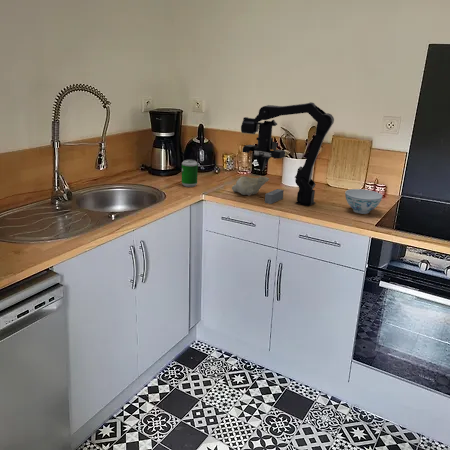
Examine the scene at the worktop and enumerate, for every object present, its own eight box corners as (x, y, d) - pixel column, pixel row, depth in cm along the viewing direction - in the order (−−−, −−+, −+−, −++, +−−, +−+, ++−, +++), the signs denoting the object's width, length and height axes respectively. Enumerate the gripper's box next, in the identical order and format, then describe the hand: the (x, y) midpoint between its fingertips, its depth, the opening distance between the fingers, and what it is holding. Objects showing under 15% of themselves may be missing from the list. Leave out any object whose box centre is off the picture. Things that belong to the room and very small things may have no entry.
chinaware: (335, 207, 198) (338, 190, 196) (364, 204, 204) (366, 188, 201) (357, 218, 185) (360, 200, 183) (387, 215, 191) (390, 197, 188)
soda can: (200, 185, 224) (200, 160, 219) (191, 188, 217) (191, 163, 213) (187, 182, 227) (188, 158, 223) (178, 185, 221) (178, 161, 217)
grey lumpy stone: (228, 200, 209) (251, 184, 200) (224, 186, 212) (247, 170, 203) (250, 204, 220) (273, 190, 211) (247, 191, 222) (269, 176, 213)
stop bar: (282, 198, 207) (283, 190, 206) (270, 204, 199) (271, 195, 198) (277, 197, 209) (277, 188, 208) (264, 202, 200) (265, 193, 199)
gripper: (292, 136, 200) (289, 171, 206) (256, 130, 210) (253, 164, 215) (280, 139, 192) (277, 175, 197) (242, 133, 201) (240, 168, 207)
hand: (262, 170), depth 204 cm, fingers closed
